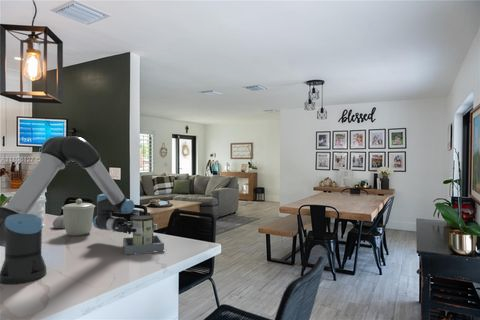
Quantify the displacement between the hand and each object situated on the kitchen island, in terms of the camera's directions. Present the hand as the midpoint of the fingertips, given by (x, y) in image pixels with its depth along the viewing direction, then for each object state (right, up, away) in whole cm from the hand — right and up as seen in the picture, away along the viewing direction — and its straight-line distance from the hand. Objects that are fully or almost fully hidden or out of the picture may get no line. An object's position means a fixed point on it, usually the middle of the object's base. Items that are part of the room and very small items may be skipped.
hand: (149, 229), depth 162 cm
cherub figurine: (-86, -9, +49) cm, 100 cm away
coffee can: (-4, -9, +2) cm, 10 cm away
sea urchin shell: (-71, -10, +51) cm, 87 cm away
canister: (-52, -10, +32) cm, 61 cm away
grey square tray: (-4, -10, +2) cm, 11 cm away
